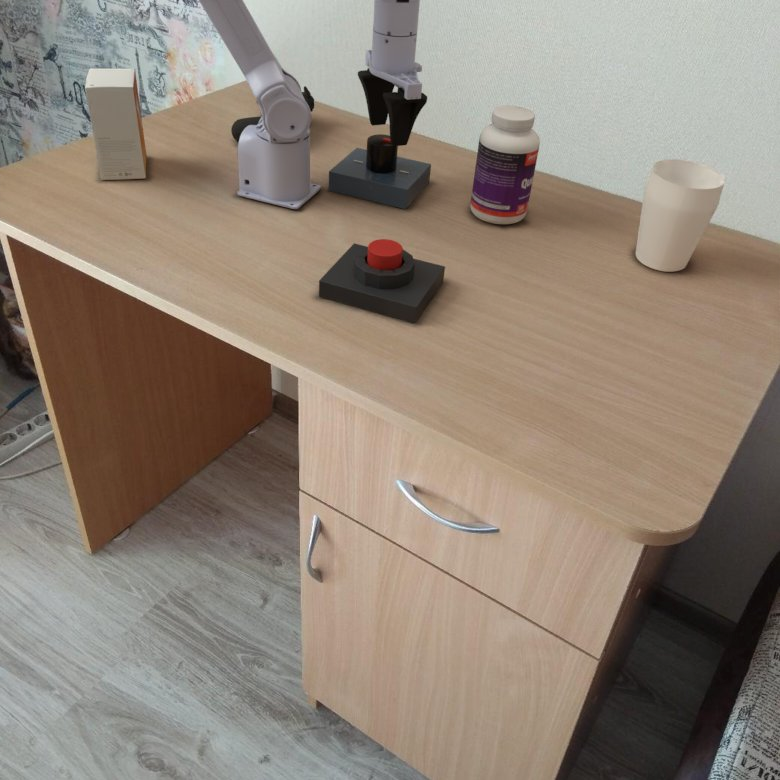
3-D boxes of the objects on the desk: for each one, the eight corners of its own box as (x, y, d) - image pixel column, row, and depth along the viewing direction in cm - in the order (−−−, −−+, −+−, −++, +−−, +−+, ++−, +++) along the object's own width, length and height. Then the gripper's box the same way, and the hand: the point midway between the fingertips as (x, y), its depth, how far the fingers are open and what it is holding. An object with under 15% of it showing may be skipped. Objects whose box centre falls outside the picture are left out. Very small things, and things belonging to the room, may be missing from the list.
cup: (696, 251, 105) (726, 167, 97) (694, 283, 98) (726, 195, 91) (629, 237, 107) (653, 153, 99) (622, 267, 100) (648, 180, 93)
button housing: (318, 296, 90) (318, 266, 88) (353, 258, 98) (354, 229, 95) (415, 323, 87) (418, 293, 85) (443, 282, 95) (447, 253, 92)
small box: (147, 179, 111) (133, 86, 103) (100, 181, 110) (83, 87, 101) (147, 156, 117) (135, 67, 109) (103, 157, 116) (87, 67, 108)
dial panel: (328, 190, 112) (328, 170, 110) (356, 166, 119) (357, 146, 117) (405, 209, 109) (407, 188, 107) (429, 183, 116) (431, 162, 114)
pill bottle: (523, 231, 106) (543, 127, 97) (465, 222, 107) (480, 119, 98) (527, 206, 112) (546, 106, 103) (472, 198, 113) (486, 98, 104)
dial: (361, 169, 111) (362, 140, 109) (372, 158, 114) (374, 130, 112) (389, 176, 110) (391, 146, 107) (400, 164, 113) (402, 136, 111)
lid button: (361, 266, 89) (362, 250, 88) (375, 251, 92) (375, 235, 91) (393, 275, 88) (395, 259, 87) (406, 259, 91) (407, 243, 90)
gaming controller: (242, 162, 124) (293, 138, 119) (223, 128, 121) (274, 103, 116) (278, 125, 136) (325, 103, 132) (261, 95, 134) (308, 71, 129)
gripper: (447, 45, 96) (436, 151, 105) (401, 14, 106) (394, 113, 115) (395, 48, 94) (388, 156, 102) (352, 16, 104) (349, 117, 112)
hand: (388, 134), depth 108 cm, fingers open, 7 cm apart
